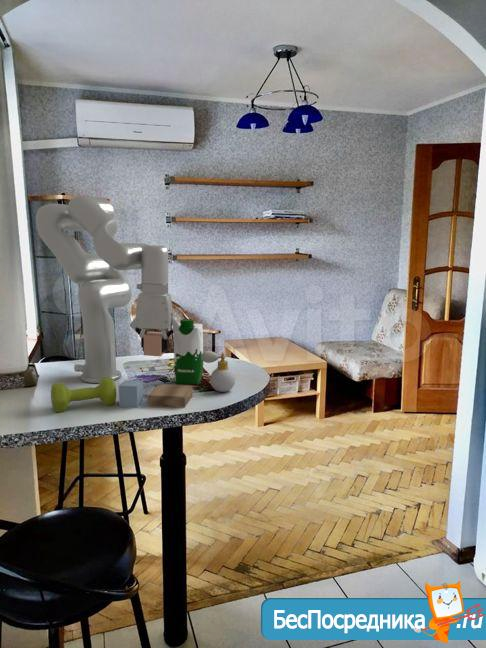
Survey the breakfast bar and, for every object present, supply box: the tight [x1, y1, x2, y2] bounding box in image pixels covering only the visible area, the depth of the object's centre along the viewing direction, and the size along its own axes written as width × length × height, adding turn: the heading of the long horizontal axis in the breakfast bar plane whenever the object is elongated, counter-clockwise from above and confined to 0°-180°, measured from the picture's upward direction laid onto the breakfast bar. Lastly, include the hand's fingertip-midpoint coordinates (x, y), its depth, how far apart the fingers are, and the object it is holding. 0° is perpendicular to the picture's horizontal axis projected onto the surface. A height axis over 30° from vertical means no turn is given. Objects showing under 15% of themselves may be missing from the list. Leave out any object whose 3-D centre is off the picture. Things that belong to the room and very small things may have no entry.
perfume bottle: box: [201, 350, 236, 393], centre depth 140 cm, size 8×10×12 cm
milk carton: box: [173, 318, 204, 385], centre depth 149 cm, size 9×9×20 cm
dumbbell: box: [50, 377, 117, 413], centre depth 127 cm, size 16×8×7 cm, turn 115°
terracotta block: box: [143, 330, 166, 357], centre depth 139 cm, size 5×5×6 cm
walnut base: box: [147, 383, 193, 408], centre depth 132 cm, size 10×10×3 cm
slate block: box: [118, 379, 144, 408], centre depth 129 cm, size 5×5×6 cm
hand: (154, 350), depth 139 cm, fingers closed on terracotta block, 5 cm apart
